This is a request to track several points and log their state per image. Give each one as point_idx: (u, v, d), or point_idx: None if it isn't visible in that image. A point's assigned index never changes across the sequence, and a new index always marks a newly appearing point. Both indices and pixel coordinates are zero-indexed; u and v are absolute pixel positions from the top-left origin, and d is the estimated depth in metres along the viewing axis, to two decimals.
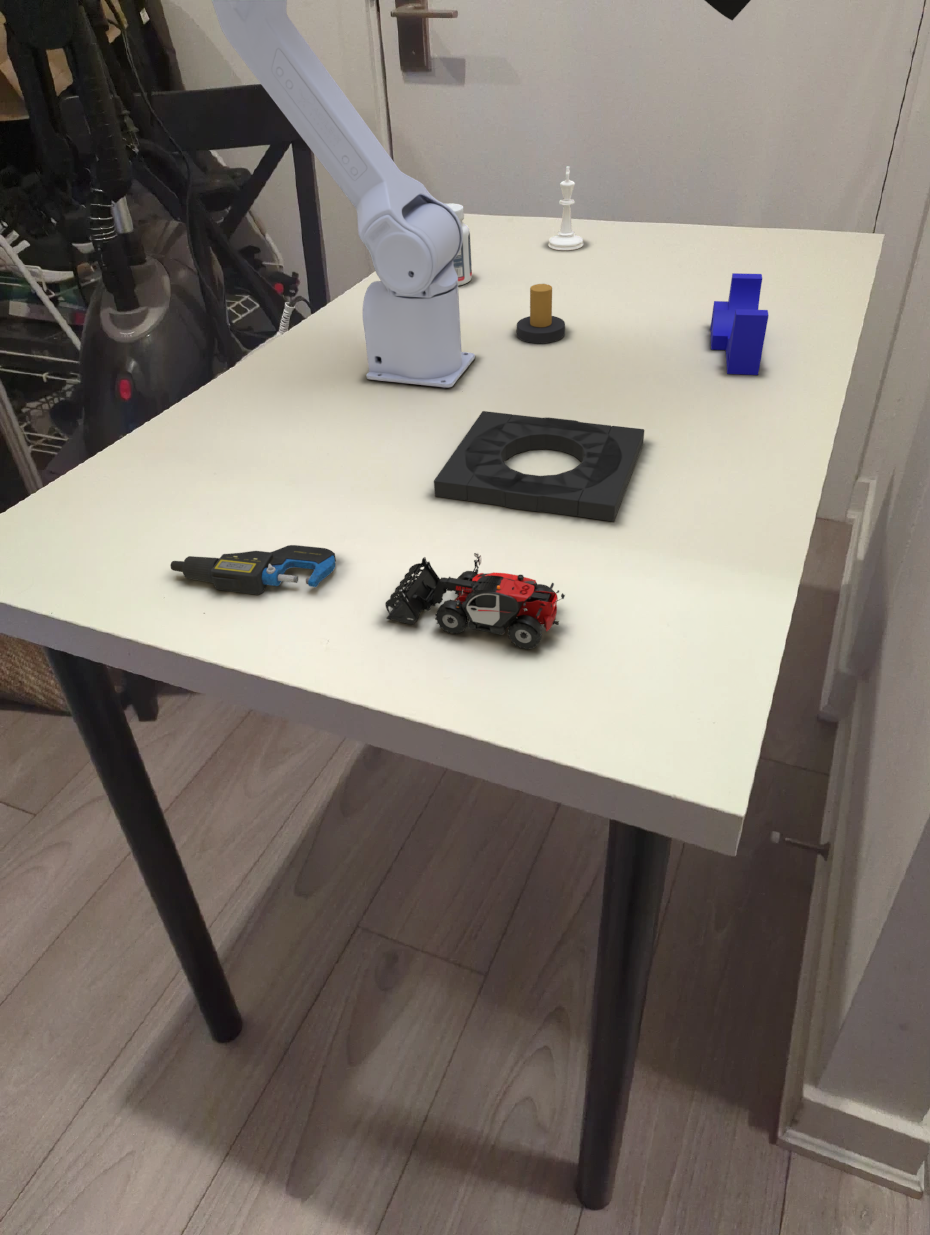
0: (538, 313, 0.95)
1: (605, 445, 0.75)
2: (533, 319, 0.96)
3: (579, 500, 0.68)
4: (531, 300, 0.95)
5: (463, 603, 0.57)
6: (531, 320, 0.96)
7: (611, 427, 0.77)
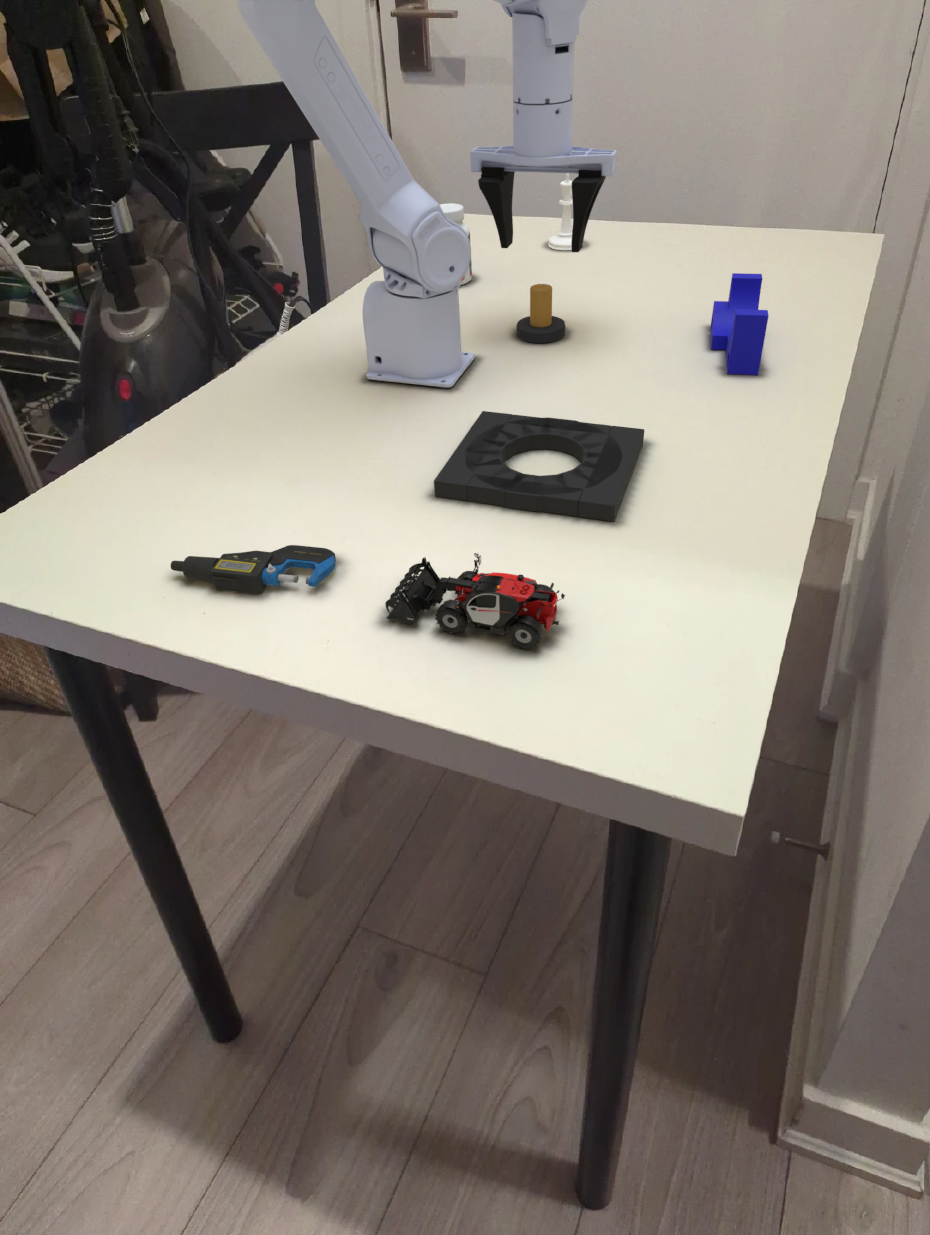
0: (538, 313, 0.95)
1: (605, 445, 0.75)
2: (533, 319, 0.96)
3: (579, 500, 0.68)
4: (531, 300, 0.95)
5: (463, 603, 0.57)
6: (531, 320, 0.96)
7: (611, 427, 0.77)
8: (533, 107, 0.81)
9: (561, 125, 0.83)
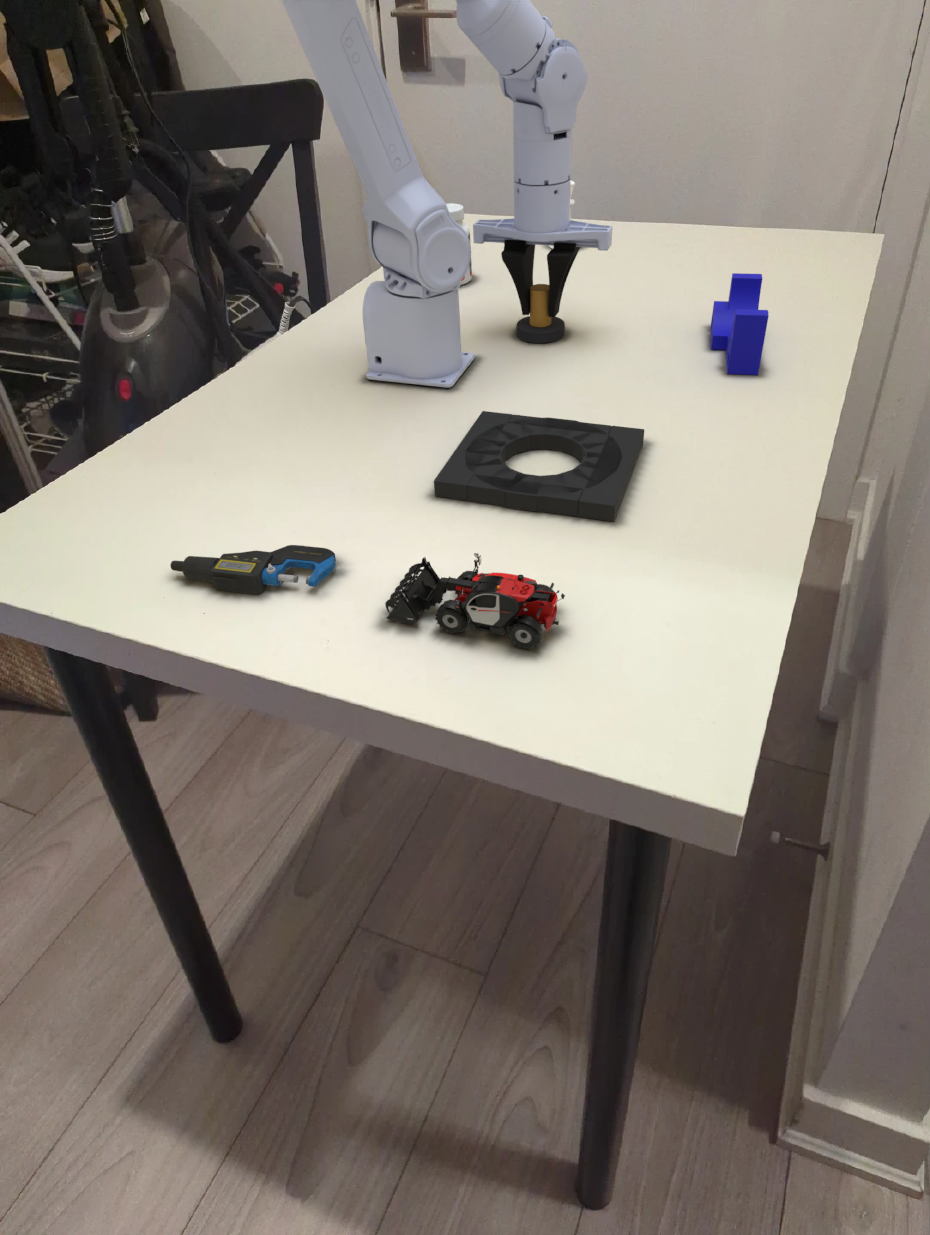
0: (537, 313, 0.95)
1: (605, 445, 0.75)
2: (533, 319, 0.96)
3: (579, 500, 0.68)
4: (531, 300, 0.95)
5: (463, 603, 0.57)
6: (531, 320, 0.96)
7: (611, 427, 0.77)
8: (533, 188, 0.86)
9: (560, 203, 0.87)
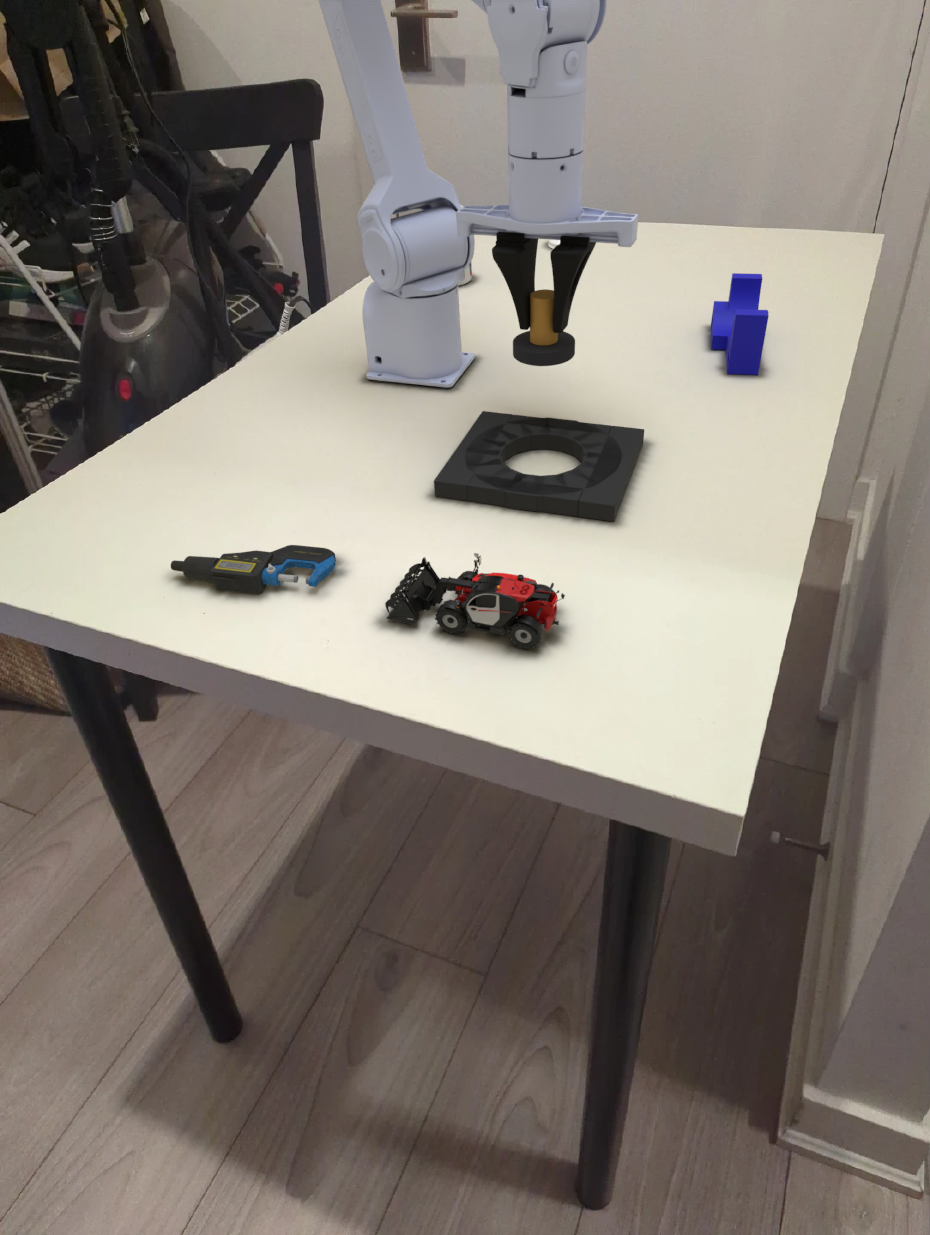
0: (539, 327, 0.74)
1: (605, 445, 0.75)
2: (534, 335, 0.74)
3: (579, 500, 0.68)
4: (531, 310, 0.73)
5: (463, 603, 0.57)
6: (531, 336, 0.75)
7: (611, 427, 0.77)
8: (532, 162, 0.64)
9: (568, 183, 0.65)
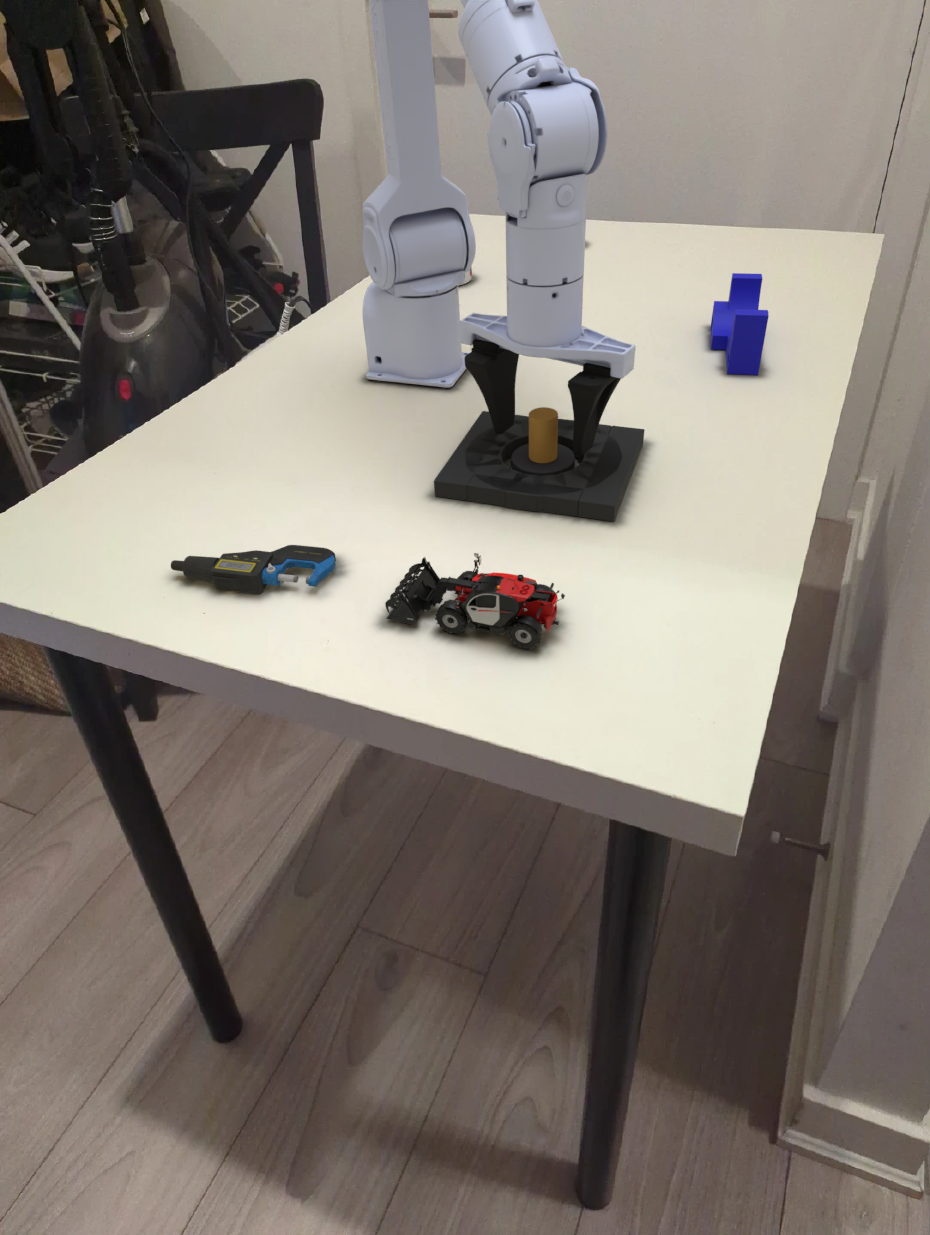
0: (535, 445, 0.72)
1: (605, 445, 0.75)
2: (531, 451, 0.73)
3: (579, 500, 0.68)
4: (529, 428, 0.72)
5: (463, 603, 0.57)
6: (529, 452, 0.74)
7: (611, 427, 0.77)
8: (523, 287, 0.63)
9: (560, 310, 0.63)
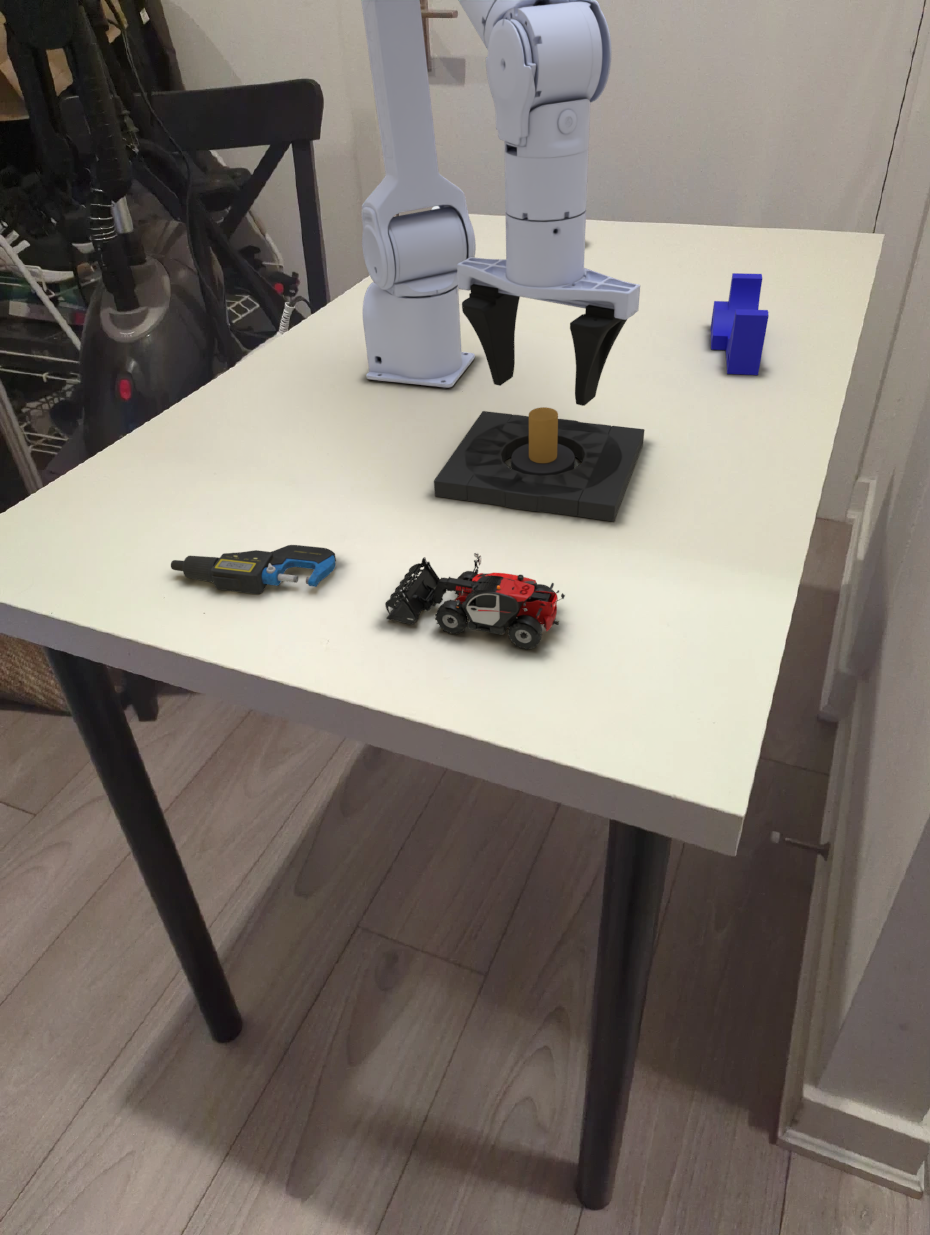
0: (535, 445, 0.72)
1: (605, 445, 0.75)
2: (531, 451, 0.73)
3: (579, 500, 0.68)
4: (529, 428, 0.72)
5: (463, 603, 0.57)
6: (529, 452, 0.74)
7: (611, 427, 0.77)
8: (523, 223, 0.60)
9: (562, 247, 0.61)
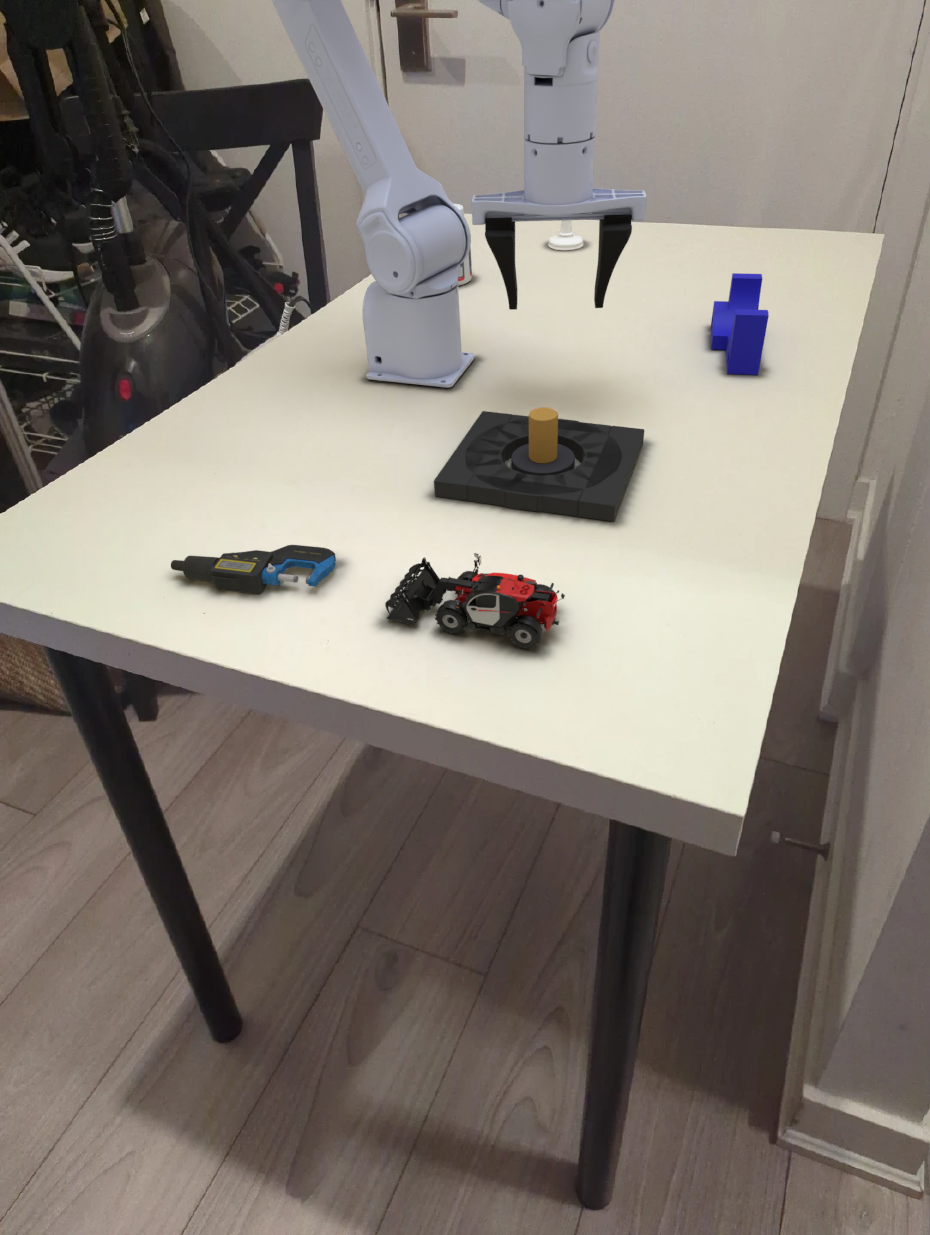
0: (535, 445, 0.72)
1: (605, 445, 0.75)
2: (531, 451, 0.73)
3: (579, 500, 0.68)
4: (529, 428, 0.72)
5: (463, 603, 0.57)
6: (529, 452, 0.74)
7: (611, 427, 0.77)
8: (558, 147, 0.68)
9: (588, 165, 0.70)
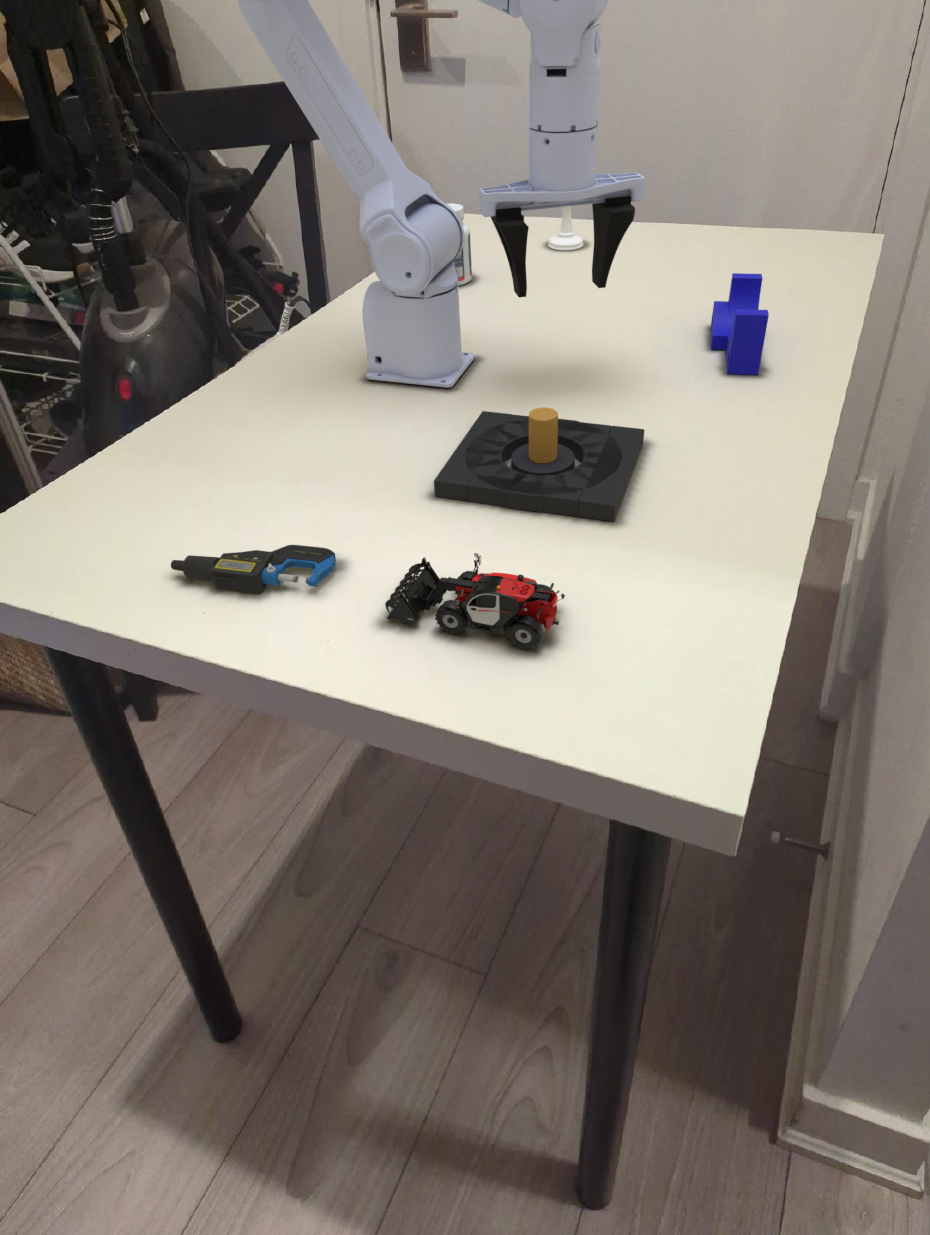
0: (535, 445, 0.72)
1: (605, 445, 0.75)
2: (531, 451, 0.73)
3: (579, 500, 0.68)
4: (529, 428, 0.72)
5: (463, 603, 0.57)
6: (529, 452, 0.74)
7: (611, 427, 0.77)
8: (571, 135, 0.71)
9: (594, 151, 0.73)
